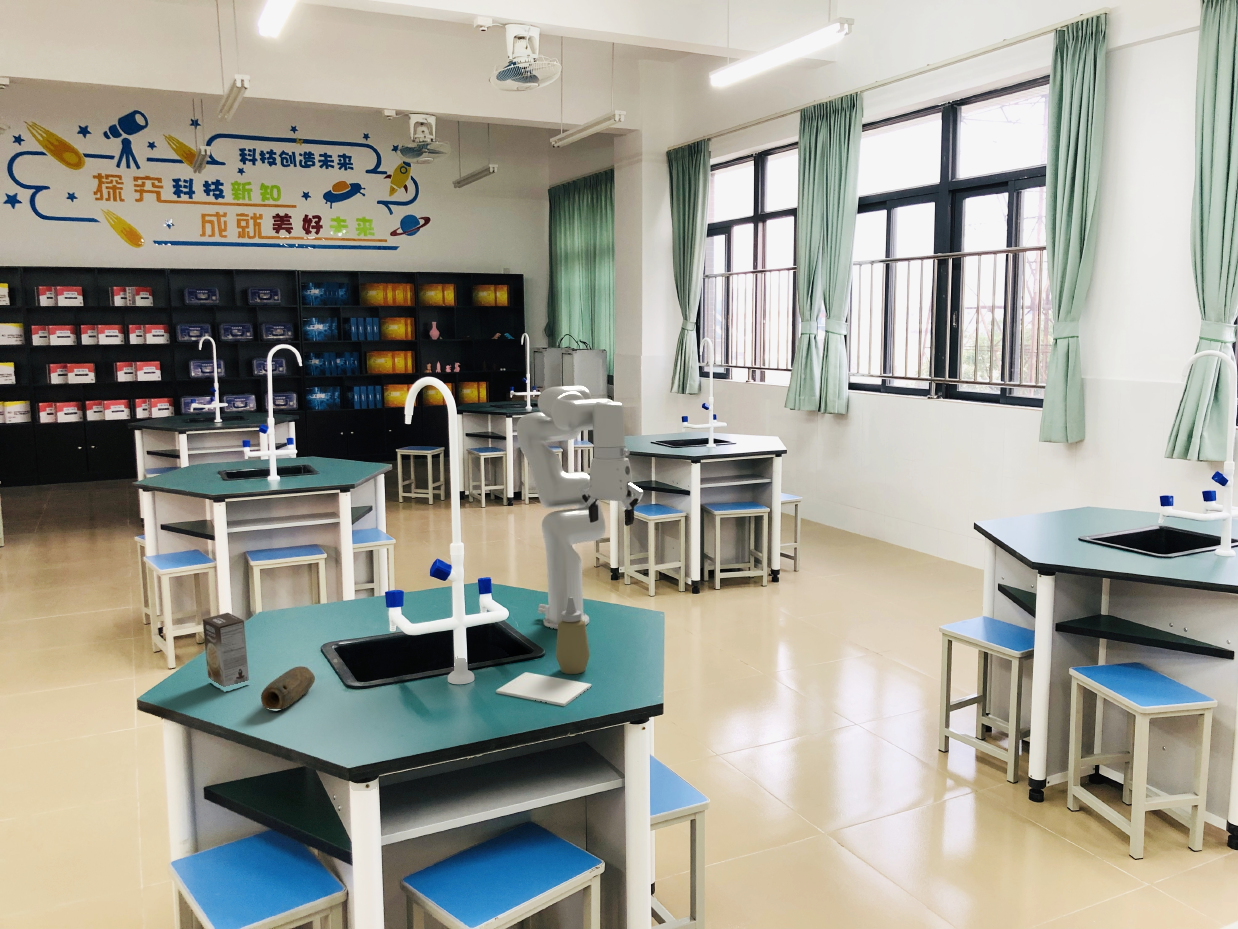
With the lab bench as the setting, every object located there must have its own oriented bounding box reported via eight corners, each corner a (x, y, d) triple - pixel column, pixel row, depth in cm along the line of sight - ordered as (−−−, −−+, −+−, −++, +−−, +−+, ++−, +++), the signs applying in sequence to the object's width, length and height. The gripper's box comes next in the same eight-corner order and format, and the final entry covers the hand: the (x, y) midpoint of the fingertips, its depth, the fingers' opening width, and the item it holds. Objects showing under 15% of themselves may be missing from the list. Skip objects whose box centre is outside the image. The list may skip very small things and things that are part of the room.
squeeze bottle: (595, 666, 228) (593, 594, 225) (580, 678, 221) (578, 604, 218) (566, 662, 231) (563, 591, 228) (550, 674, 224) (547, 600, 221)
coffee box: (207, 683, 224) (200, 618, 221) (233, 676, 228) (227, 611, 226) (224, 693, 217) (218, 626, 215) (251, 685, 222) (245, 619, 220)
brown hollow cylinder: (291, 715, 205) (288, 686, 203) (260, 715, 205) (257, 686, 204) (318, 688, 219) (316, 661, 218) (289, 688, 220) (286, 661, 219)
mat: (496, 692, 213) (496, 690, 213) (525, 674, 224) (525, 672, 224) (564, 706, 205) (564, 703, 205) (591, 686, 216) (591, 684, 215)
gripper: (648, 452, 226) (650, 522, 228) (586, 449, 234) (588, 517, 236) (634, 457, 219) (636, 529, 222) (570, 453, 227) (572, 523, 230)
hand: (611, 523), depth 229 cm, fingers open, 9 cm apart
